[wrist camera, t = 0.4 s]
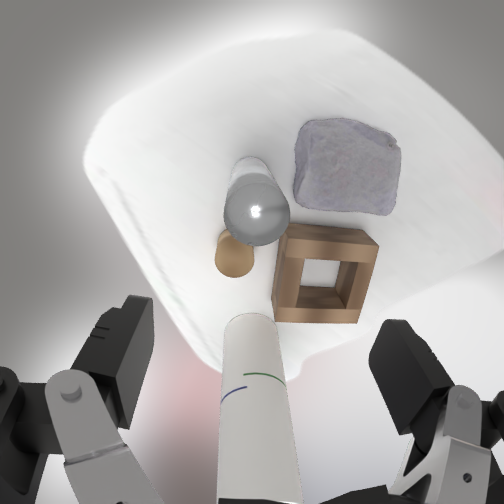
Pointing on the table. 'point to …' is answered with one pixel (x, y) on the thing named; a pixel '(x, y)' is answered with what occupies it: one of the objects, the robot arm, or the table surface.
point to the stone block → (346, 167)
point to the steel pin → (255, 204)
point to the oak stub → (233, 256)
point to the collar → (322, 298)
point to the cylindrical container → (255, 416)
